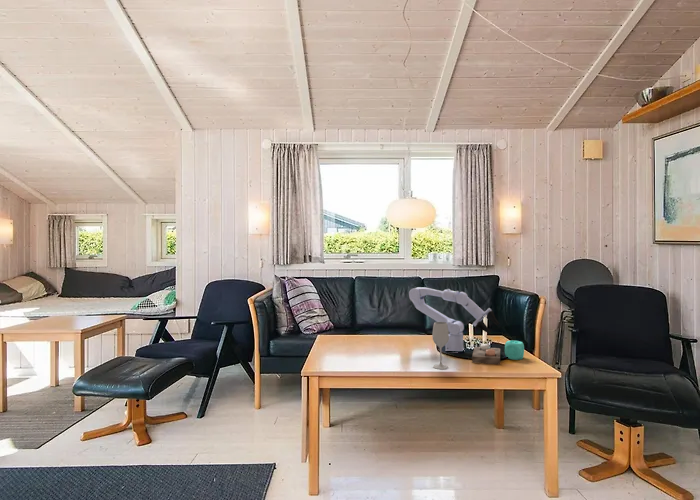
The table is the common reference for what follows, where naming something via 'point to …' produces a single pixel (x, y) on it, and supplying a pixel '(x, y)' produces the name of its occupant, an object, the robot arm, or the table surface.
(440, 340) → the wineglass
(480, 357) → the button panel
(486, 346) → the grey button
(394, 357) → the table surface
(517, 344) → the decorative dice
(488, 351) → the terracotta button
